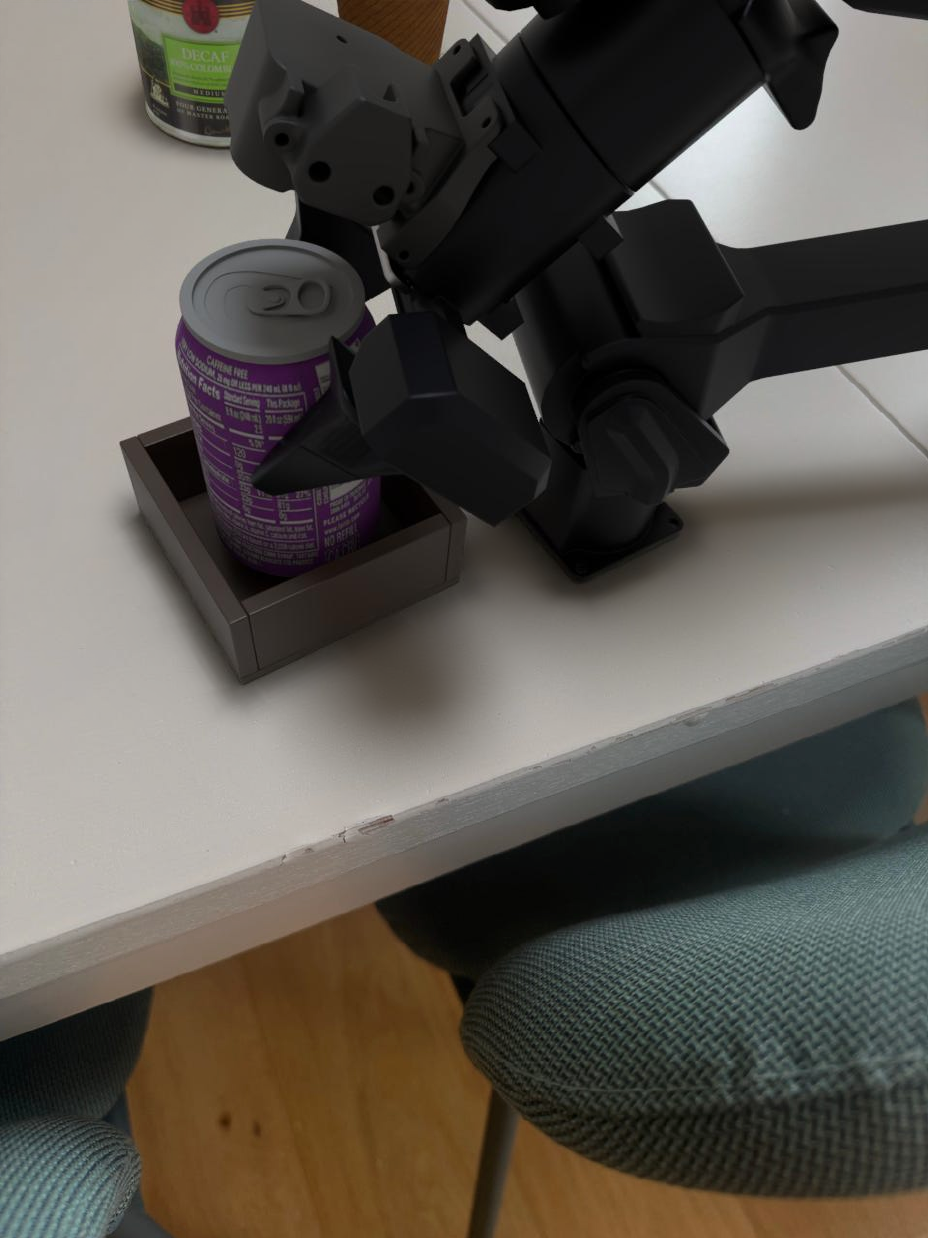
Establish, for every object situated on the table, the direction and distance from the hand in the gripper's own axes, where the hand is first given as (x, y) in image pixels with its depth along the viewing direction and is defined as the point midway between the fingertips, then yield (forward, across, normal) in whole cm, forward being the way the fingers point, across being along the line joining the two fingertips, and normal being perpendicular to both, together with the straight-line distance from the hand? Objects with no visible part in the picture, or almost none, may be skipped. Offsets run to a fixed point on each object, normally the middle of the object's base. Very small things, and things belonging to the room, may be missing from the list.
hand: (251, 416), depth 36 cm
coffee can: (+5, -37, +6) cm, 38 cm away
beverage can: (+4, 0, +6) cm, 7 cm away
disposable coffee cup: (-3, -41, +15) cm, 43 cm away
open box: (+5, 0, +7) cm, 8 cm away
